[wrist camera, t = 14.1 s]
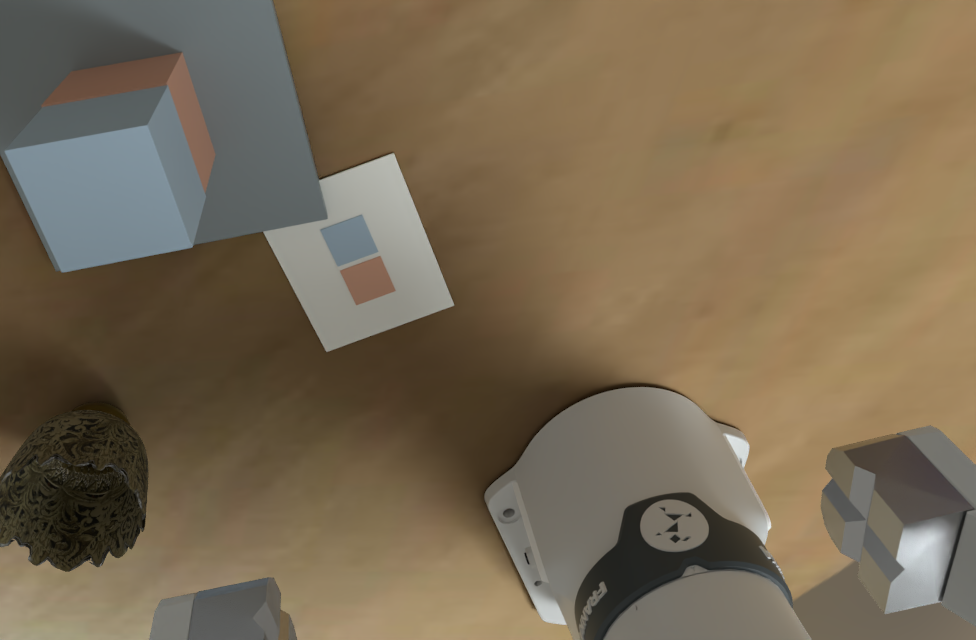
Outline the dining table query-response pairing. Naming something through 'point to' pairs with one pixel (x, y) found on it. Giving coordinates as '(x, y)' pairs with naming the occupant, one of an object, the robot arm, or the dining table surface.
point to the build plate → (217, 83)
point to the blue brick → (110, 178)
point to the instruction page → (362, 257)
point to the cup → (76, 488)
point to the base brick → (144, 77)
